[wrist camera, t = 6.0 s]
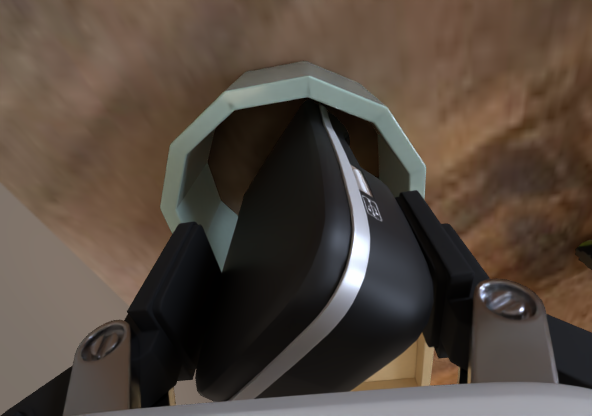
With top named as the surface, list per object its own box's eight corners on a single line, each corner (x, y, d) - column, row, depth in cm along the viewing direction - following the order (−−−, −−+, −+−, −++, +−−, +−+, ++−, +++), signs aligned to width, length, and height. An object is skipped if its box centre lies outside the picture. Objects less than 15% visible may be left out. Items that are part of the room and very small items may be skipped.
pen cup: (389, 44, 15) (434, 52, 10) (390, 231, 20) (419, 292, 16) (168, 86, 16) (113, 112, 11) (229, 253, 21) (211, 317, 17)
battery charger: (296, 225, 18) (298, 454, 9) (240, 196, 17) (174, 425, 8) (370, 132, 15) (500, 334, 6) (308, 89, 14) (340, 252, 4)
